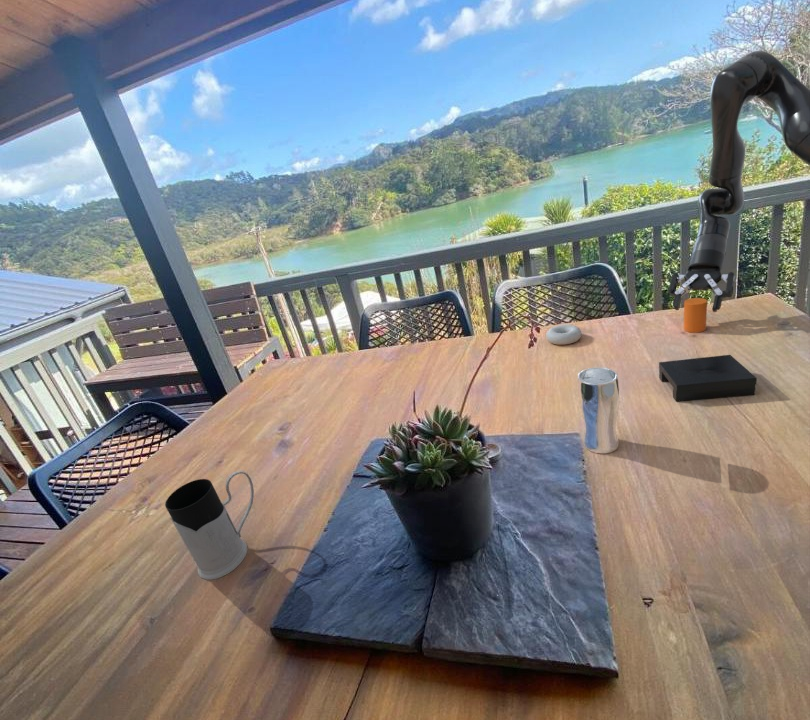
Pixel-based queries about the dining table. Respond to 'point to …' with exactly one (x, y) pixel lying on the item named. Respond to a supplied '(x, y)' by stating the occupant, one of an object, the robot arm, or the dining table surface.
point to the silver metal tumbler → (599, 408)
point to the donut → (563, 334)
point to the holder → (208, 527)
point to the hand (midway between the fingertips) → (695, 309)
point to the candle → (695, 315)
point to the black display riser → (707, 378)
